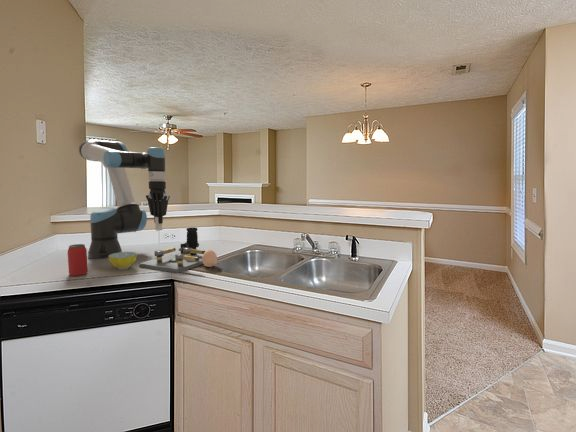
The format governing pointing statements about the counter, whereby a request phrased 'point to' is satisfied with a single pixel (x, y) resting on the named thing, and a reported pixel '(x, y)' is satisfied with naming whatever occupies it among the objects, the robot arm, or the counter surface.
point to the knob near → (162, 253)
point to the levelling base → (170, 264)
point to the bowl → (122, 259)
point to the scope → (190, 240)
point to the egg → (209, 258)
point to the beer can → (77, 260)
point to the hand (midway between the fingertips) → (158, 230)
